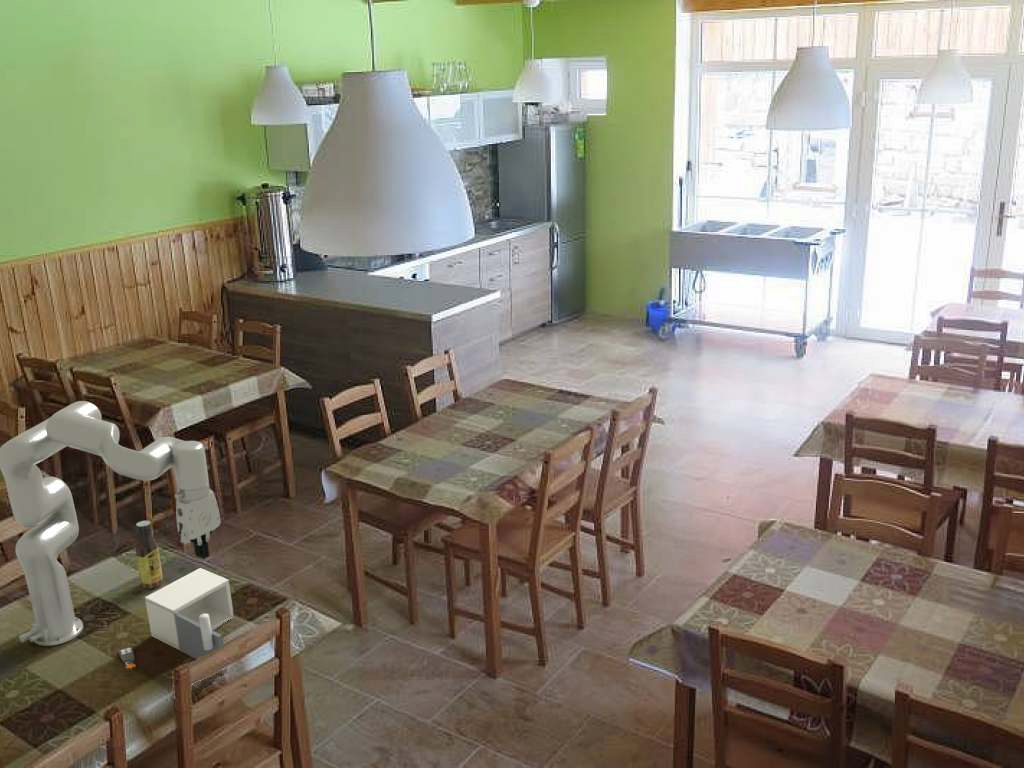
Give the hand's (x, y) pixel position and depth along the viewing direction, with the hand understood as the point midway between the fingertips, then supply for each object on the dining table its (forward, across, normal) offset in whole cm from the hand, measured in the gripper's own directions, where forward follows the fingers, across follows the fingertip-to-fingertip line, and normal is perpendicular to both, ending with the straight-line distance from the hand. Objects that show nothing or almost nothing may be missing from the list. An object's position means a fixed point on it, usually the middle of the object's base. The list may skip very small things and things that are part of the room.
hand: (202, 556), depth 243 cm
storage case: (+28, +4, +14) cm, 31 cm away
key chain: (+29, -15, +15) cm, 36 cm away
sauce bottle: (+29, +13, +42) cm, 53 cm away
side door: (+27, -7, -2) cm, 28 cm away
